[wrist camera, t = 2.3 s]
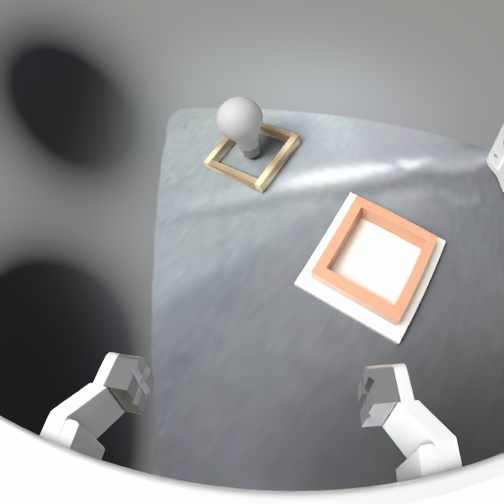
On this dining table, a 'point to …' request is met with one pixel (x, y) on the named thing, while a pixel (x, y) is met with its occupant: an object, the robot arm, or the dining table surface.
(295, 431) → the dining table surface
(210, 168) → the square wooden frame
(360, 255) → the socket
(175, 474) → the dining table surface
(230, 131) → the lightbulb
